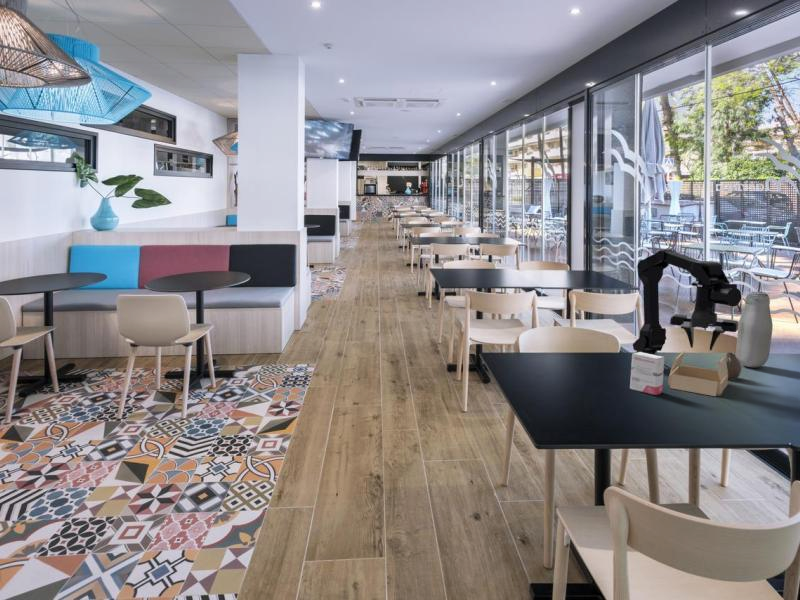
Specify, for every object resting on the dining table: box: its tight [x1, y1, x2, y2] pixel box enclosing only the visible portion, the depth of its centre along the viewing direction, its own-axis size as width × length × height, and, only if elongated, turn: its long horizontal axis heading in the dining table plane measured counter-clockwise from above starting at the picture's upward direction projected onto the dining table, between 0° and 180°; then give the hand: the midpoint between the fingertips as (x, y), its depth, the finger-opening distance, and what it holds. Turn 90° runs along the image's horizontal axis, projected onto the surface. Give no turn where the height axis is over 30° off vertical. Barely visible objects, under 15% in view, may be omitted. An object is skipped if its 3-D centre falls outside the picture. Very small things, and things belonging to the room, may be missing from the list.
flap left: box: [670, 350, 686, 373], centre depth 182 cm, size 1×12×5 cm, turn 143°
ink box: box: [629, 352, 665, 396], centre depth 174 cm, size 9×5×12 cm, turn 39°
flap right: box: [716, 356, 728, 381], centre depth 174 cm, size 1×12×5 cm, turn 141°
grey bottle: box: [735, 291, 773, 369], centre depth 200 cm, size 10×10×28 cm
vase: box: [718, 352, 742, 381], centre depth 187 cm, size 7×7×9 cm
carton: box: [667, 364, 729, 397], centre depth 179 cm, size 15×17×4 cm
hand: (701, 348), depth 178 cm, fingers open, 5 cm apart
